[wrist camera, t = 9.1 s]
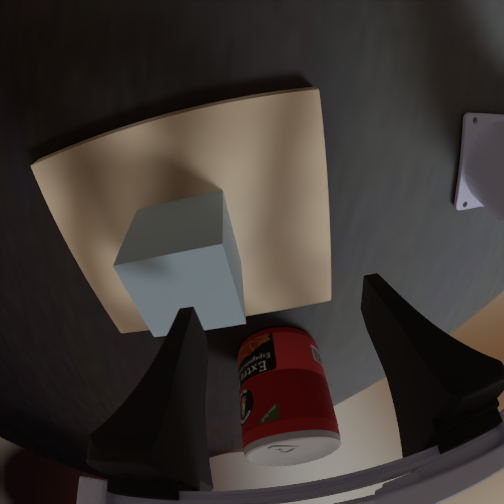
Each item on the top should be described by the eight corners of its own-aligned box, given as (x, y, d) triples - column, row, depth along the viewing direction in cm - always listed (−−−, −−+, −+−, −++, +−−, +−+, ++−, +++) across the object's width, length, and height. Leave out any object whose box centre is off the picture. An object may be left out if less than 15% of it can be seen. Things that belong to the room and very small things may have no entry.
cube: (222, 190, 18) (222, 243, 14) (241, 262, 22) (246, 323, 17) (137, 210, 19) (112, 265, 14) (165, 276, 22) (154, 337, 18)
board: (313, 86, 16) (318, 89, 15) (327, 290, 26) (331, 300, 25) (39, 158, 17) (30, 165, 16) (123, 322, 26) (121, 333, 25)
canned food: (254, 316, 27) (267, 436, 18) (331, 331, 29) (361, 435, 20) (226, 364, 31) (230, 465, 22) (295, 374, 33) (311, 465, 24)
